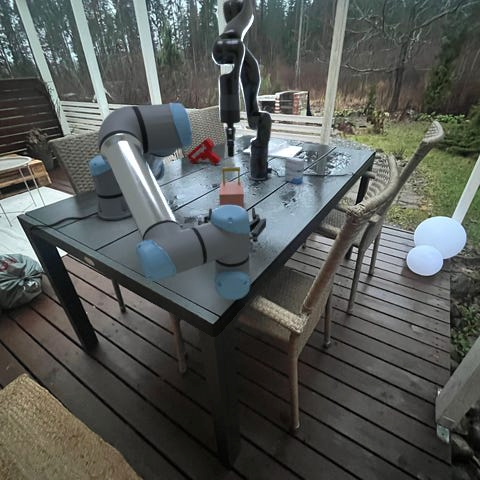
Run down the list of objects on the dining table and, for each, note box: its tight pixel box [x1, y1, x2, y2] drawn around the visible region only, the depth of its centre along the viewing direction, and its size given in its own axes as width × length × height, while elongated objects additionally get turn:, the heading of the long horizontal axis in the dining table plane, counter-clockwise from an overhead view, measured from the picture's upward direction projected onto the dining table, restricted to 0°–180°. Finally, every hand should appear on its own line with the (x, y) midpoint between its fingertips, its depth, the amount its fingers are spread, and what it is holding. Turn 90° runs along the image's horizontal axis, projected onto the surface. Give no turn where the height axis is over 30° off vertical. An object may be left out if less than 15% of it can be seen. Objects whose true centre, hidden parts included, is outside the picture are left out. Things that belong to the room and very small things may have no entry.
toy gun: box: [186, 137, 221, 166], centre depth 168 cm, size 18×4×15 cm
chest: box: [219, 196, 245, 209], centre depth 113 cm, size 13×10×9 cm
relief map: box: [242, 138, 304, 160], centre depth 192 cm, size 27×35×5 cm
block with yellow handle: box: [218, 166, 245, 198], centre depth 108 cm, size 13×10×8 cm
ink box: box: [284, 156, 306, 185], centre depth 140 cm, size 8×5×12 cm, turn 47°
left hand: (232, 211), depth 87 cm, fingers open, 13 cm apart
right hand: (230, 153), depth 106 cm, fingers open, 8 cm apart
